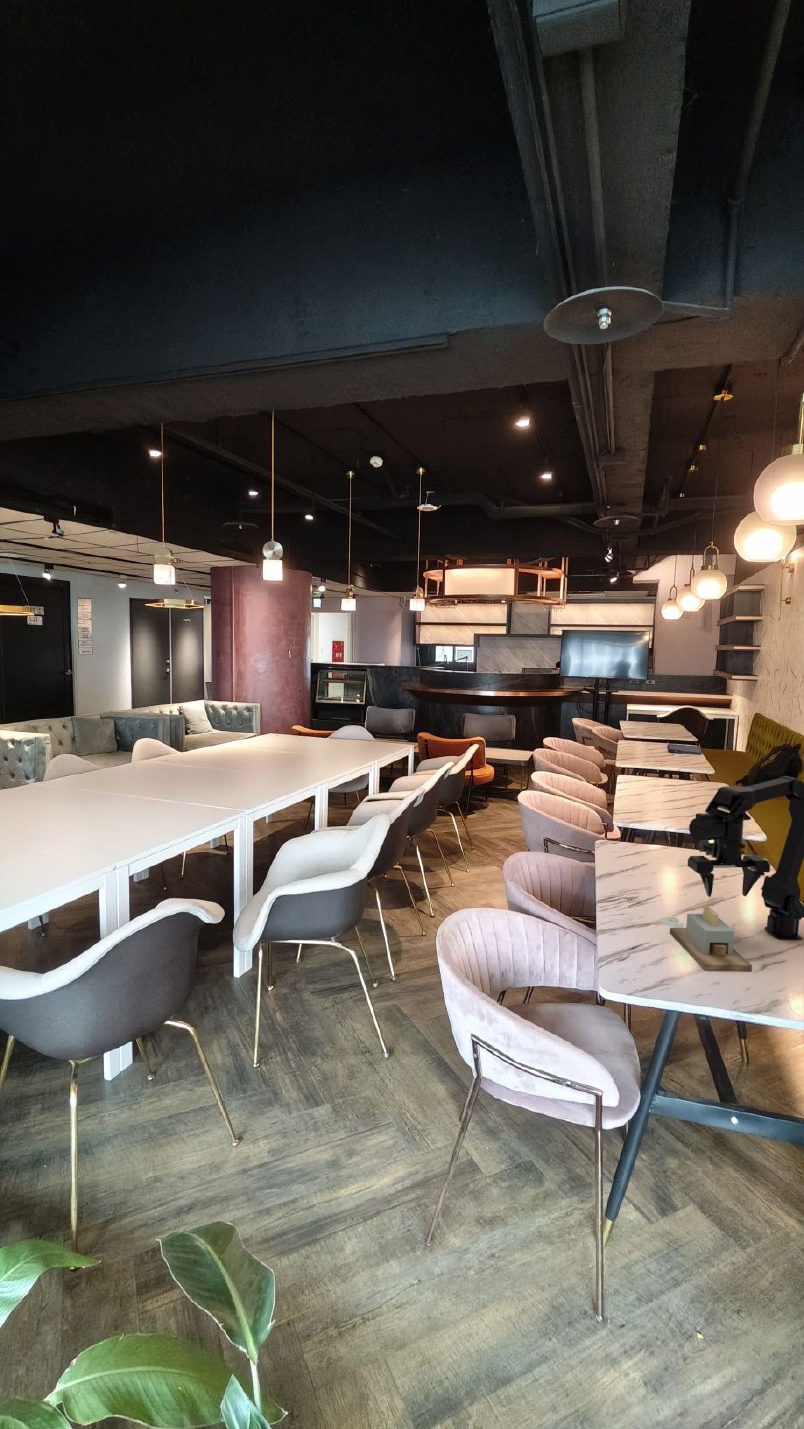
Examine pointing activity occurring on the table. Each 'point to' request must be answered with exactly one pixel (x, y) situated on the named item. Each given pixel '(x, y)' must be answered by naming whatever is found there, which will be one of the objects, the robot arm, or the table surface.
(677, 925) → the mounting bracket
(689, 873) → the table surface
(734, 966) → the cleat board
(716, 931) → the cabinet block
